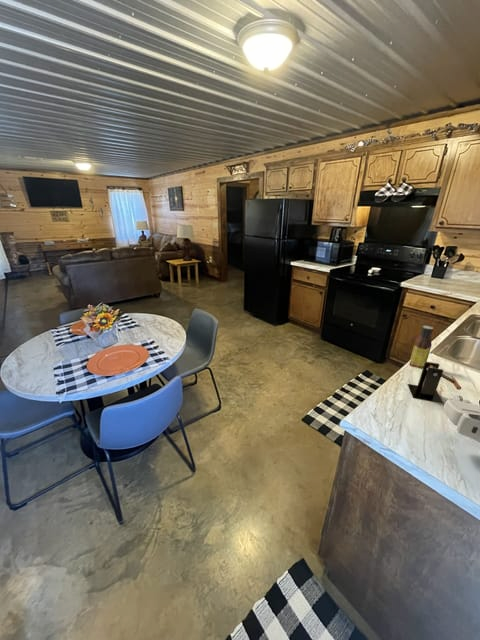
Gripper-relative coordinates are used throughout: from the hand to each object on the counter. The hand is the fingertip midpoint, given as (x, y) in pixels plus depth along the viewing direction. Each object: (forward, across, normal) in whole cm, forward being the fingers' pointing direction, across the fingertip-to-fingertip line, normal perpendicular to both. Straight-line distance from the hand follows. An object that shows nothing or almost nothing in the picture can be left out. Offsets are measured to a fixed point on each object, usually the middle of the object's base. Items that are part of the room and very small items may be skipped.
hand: (474, 400), depth 85 cm
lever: (+14, +5, +2) cm, 15 cm away
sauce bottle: (+37, +5, +11) cm, 39 cm away
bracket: (+14, +8, +11) cm, 19 cm away
